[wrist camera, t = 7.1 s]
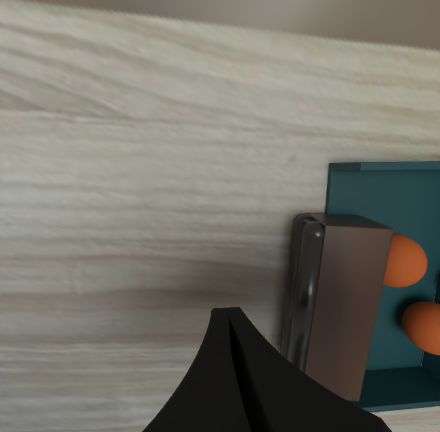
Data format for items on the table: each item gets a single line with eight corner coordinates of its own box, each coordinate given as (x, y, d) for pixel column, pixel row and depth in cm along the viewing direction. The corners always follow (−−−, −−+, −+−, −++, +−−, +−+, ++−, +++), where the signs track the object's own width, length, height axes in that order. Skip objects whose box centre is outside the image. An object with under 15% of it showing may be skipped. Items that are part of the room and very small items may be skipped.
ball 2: (424, 309, 13) (451, 289, 14) (381, 316, 16) (407, 299, 17) (467, 367, 12) (492, 340, 13) (413, 364, 15) (438, 342, 16)
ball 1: (383, 264, 16) (348, 278, 15) (386, 222, 15) (350, 233, 14) (437, 287, 13) (398, 306, 12) (445, 237, 12) (404, 252, 11)
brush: (286, 394, 13) (359, 402, 13) (307, 223, 11) (395, 228, 11) (278, 353, 16) (337, 359, 16) (293, 211, 14) (362, 215, 14)
